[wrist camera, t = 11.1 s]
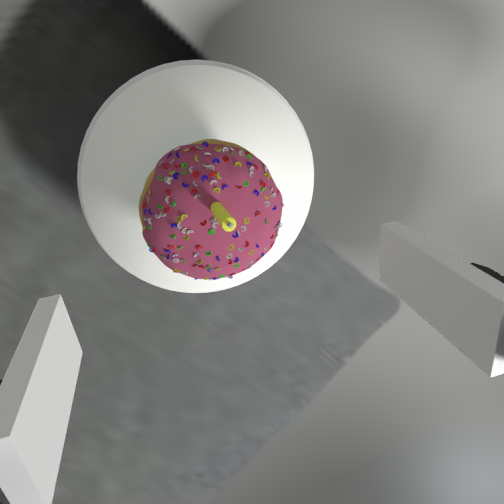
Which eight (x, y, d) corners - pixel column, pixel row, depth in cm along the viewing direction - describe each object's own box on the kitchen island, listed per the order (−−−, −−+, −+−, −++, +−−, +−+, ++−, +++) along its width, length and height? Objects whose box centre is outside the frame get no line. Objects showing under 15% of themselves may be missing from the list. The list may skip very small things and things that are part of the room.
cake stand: (120, 273, 37) (114, 317, 30) (61, 76, 30) (37, 79, 23) (293, 237, 39) (322, 271, 33) (279, 48, 32) (311, 43, 26)
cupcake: (125, 140, 26) (109, 194, 15) (255, 118, 27) (325, 153, 16) (157, 260, 29) (162, 370, 19) (269, 235, 31) (334, 326, 20)
